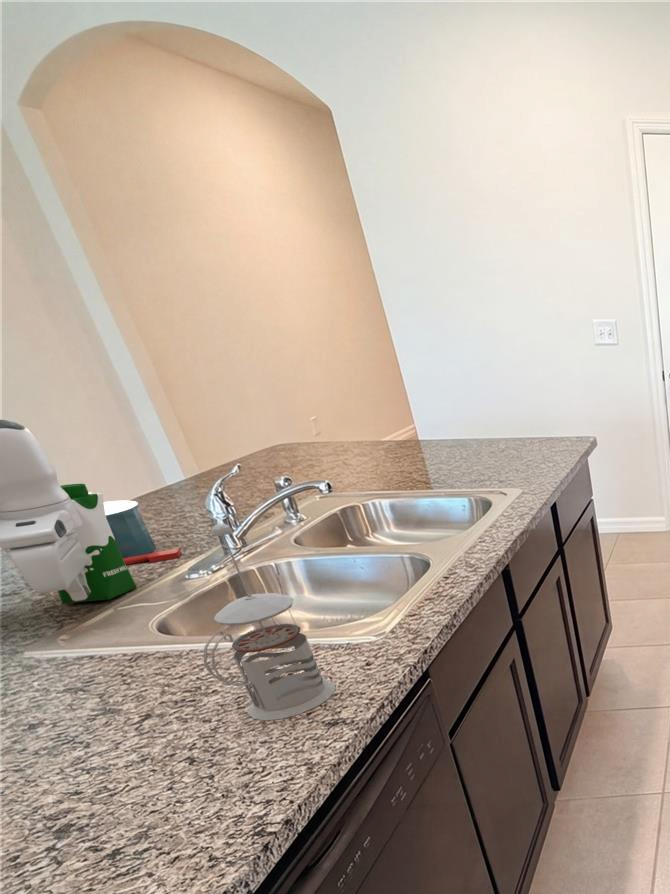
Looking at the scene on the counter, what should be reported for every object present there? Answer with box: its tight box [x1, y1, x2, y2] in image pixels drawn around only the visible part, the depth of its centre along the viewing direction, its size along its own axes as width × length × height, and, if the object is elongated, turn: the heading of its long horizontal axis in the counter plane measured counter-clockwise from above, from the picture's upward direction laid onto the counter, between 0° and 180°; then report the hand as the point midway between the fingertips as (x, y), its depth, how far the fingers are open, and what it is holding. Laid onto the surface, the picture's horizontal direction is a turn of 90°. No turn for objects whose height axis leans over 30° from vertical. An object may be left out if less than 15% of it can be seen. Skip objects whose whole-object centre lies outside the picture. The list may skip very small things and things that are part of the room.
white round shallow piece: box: [88, 492, 140, 518], centre depth 133 cm, size 14×14×5 cm
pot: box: [106, 508, 156, 558], centre depth 136 cm, size 13×18×10 cm
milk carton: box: [57, 483, 138, 605], centre depth 115 cm, size 9×9×20 cm
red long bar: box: [123, 547, 182, 566], centre depth 133 cm, size 16×3×1 cm, turn 125°
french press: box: [202, 523, 336, 722], centre depth 82 cm, size 10×12×25 cm
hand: (82, 597), depth 111 cm, fingers closed
